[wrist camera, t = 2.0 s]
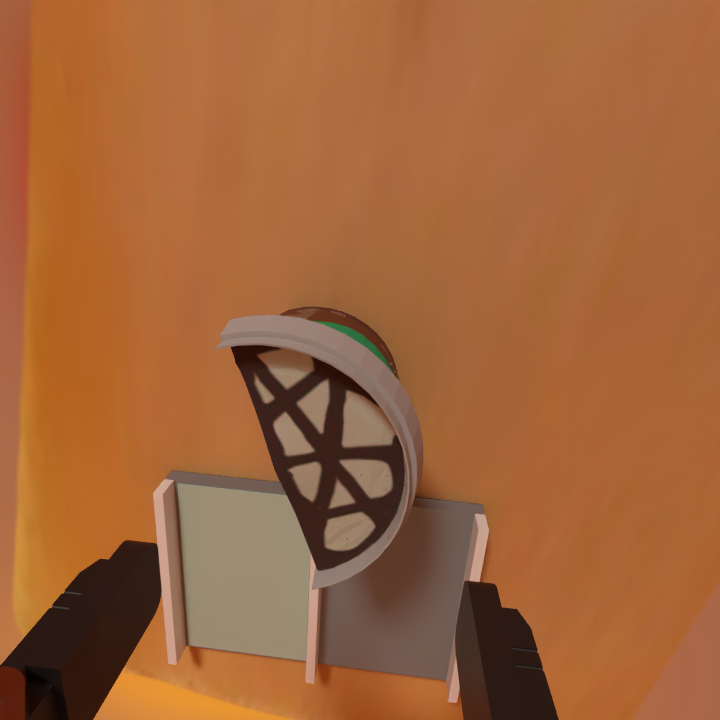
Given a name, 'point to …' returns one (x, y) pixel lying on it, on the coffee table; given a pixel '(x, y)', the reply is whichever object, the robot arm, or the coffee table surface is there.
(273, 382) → the food container
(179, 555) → the sorting board
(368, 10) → the coffee table surface
